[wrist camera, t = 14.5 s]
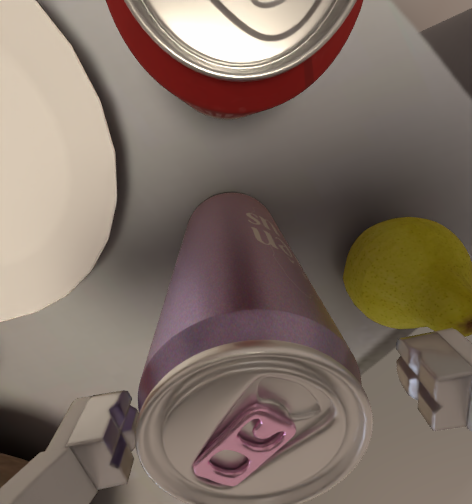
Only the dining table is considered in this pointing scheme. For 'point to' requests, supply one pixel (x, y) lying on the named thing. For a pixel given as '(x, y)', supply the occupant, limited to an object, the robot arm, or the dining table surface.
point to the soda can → (235, 47)
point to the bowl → (9, 467)
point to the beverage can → (247, 371)
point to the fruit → (411, 276)
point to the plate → (48, 164)
